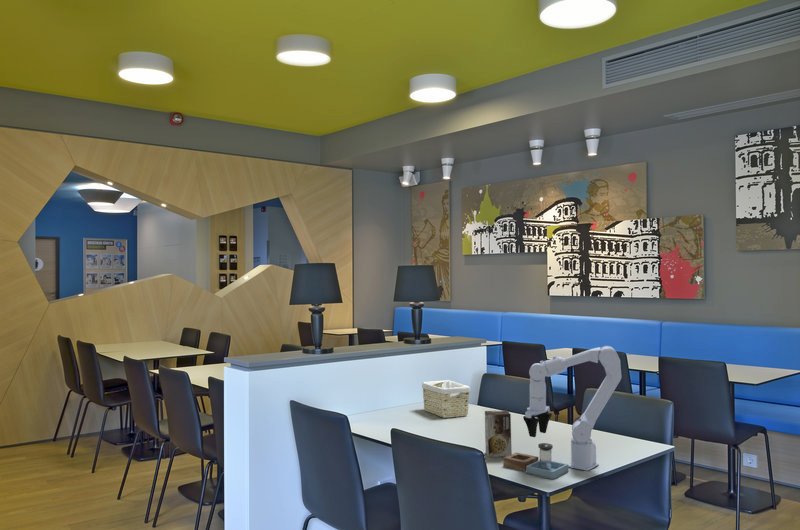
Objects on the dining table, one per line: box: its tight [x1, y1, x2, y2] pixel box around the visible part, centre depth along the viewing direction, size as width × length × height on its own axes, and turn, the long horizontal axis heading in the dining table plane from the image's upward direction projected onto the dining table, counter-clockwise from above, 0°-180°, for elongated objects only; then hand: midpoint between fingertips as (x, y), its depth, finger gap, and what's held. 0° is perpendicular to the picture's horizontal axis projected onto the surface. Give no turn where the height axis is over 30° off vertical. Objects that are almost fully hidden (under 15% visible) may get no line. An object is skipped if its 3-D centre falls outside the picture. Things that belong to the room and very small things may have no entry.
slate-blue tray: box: [525, 459, 569, 480], centre depth 215 cm, size 11×10×2 cm
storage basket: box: [421, 379, 471, 419], centre depth 312 cm, size 24×16×15 cm
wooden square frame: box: [502, 451, 539, 472], centre depth 223 cm, size 9×9×3 cm
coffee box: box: [484, 410, 513, 458], centre depth 238 cm, size 9×6×16 cm
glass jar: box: [538, 442, 554, 471], centre depth 216 cm, size 5×5×9 cm
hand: (537, 434), depth 226 cm, fingers open, 7 cm apart
